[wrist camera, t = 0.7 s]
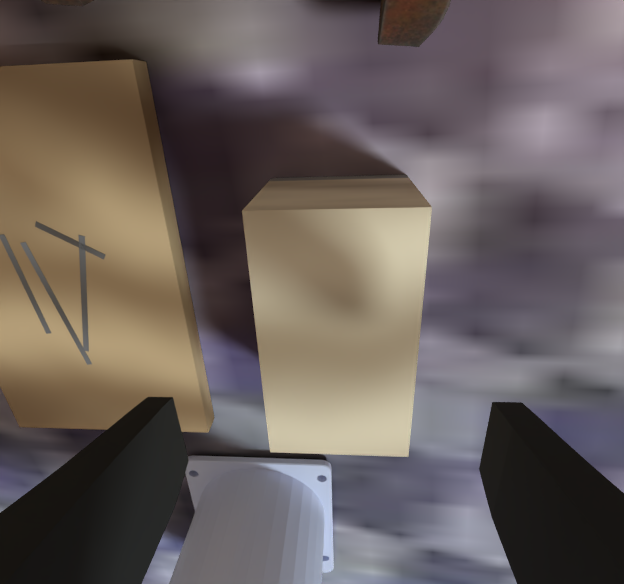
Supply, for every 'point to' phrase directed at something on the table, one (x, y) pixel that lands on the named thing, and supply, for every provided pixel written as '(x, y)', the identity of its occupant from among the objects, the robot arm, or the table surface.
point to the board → (91, 252)
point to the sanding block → (338, 309)
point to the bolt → (383, 19)
